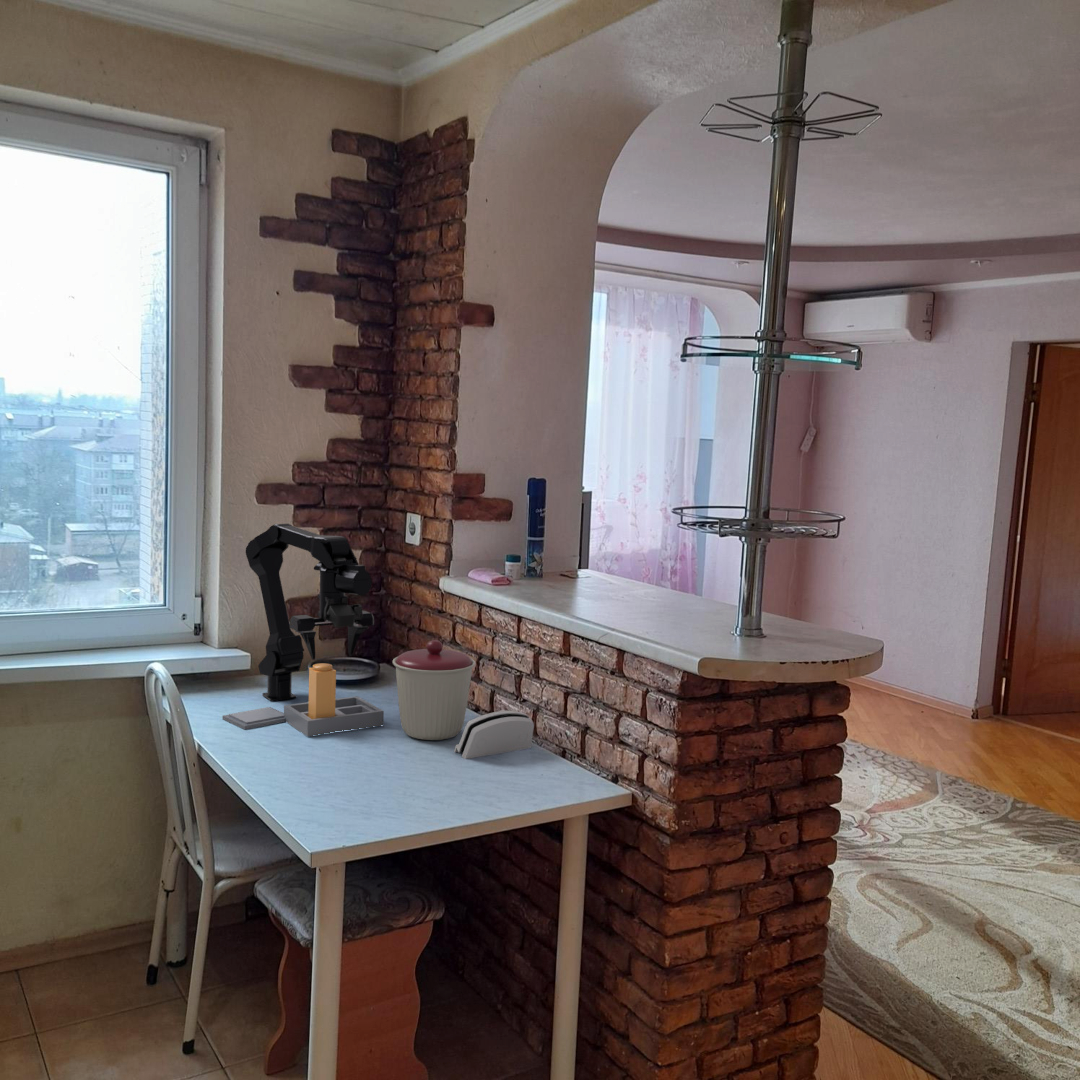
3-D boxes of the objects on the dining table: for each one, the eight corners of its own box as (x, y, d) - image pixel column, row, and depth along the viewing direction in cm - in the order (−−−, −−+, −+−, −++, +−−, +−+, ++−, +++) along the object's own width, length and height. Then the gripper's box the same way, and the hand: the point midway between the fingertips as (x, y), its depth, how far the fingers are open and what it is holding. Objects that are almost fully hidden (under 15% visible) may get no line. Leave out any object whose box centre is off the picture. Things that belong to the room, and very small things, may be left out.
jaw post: (308, 722, 229) (309, 664, 228) (327, 720, 232) (328, 662, 230) (315, 728, 225) (316, 668, 224) (334, 725, 228) (336, 666, 226)
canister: (410, 718, 239) (412, 629, 237) (483, 727, 235) (487, 636, 232) (377, 740, 222) (379, 644, 220) (456, 750, 217) (459, 652, 215)
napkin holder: (519, 741, 226) (529, 703, 222) (530, 754, 222) (540, 715, 218) (452, 752, 216) (461, 712, 213) (462, 765, 213) (472, 725, 209)
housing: (283, 720, 234) (284, 705, 233) (357, 710, 244) (357, 696, 244) (307, 737, 222) (307, 721, 222) (383, 726, 233) (383, 710, 232)
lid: (222, 719, 233) (222, 713, 233) (270, 710, 241) (270, 705, 241) (244, 729, 226) (244, 724, 226) (292, 720, 234) (292, 715, 234)
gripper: (306, 598, 226) (306, 668, 228) (384, 593, 237) (383, 659, 238) (288, 591, 236) (288, 658, 237) (364, 586, 246) (363, 651, 247)
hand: (332, 657), depth 240 cm, fingers open, 9 cm apart
